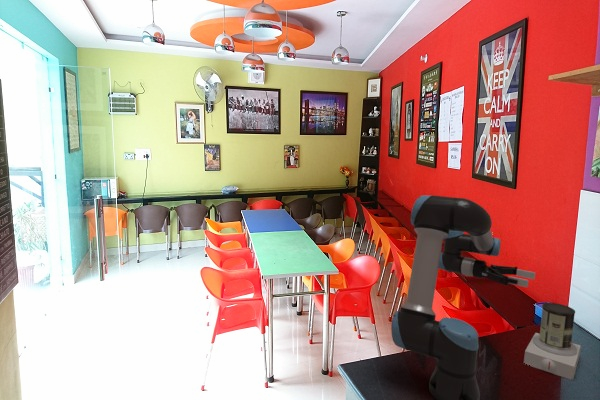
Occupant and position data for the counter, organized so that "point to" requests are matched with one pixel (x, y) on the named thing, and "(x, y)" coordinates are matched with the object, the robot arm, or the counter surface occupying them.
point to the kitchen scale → (552, 358)
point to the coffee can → (556, 326)
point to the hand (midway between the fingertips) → (531, 279)
